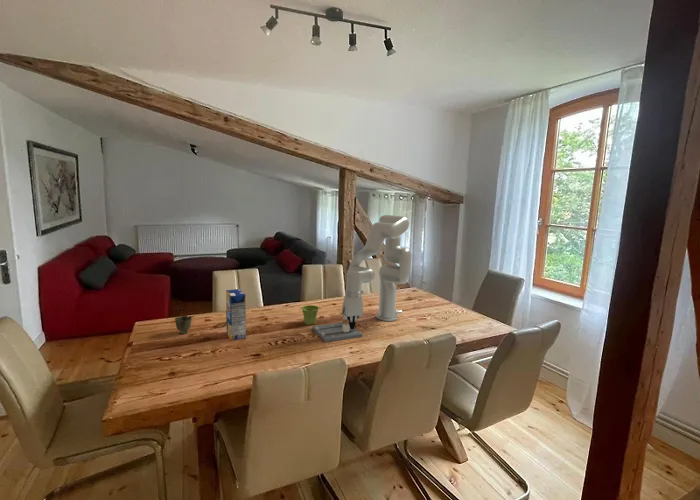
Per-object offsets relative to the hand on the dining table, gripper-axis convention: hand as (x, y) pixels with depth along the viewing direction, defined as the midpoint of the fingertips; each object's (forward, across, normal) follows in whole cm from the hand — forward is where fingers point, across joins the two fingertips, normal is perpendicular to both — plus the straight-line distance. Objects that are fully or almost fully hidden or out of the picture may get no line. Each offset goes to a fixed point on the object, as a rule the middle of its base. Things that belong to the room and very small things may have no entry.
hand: (352, 328), depth 190 cm
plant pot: (+3, +14, -22) cm, 27 cm away
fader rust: (+1, 0, -8) cm, 8 cm away
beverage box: (+4, +55, -18) cm, 58 cm away
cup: (+4, +78, -31) cm, 83 cm away
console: (+3, +7, -4) cm, 8 cm away
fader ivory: (+1, +4, 0) cm, 4 cm away
